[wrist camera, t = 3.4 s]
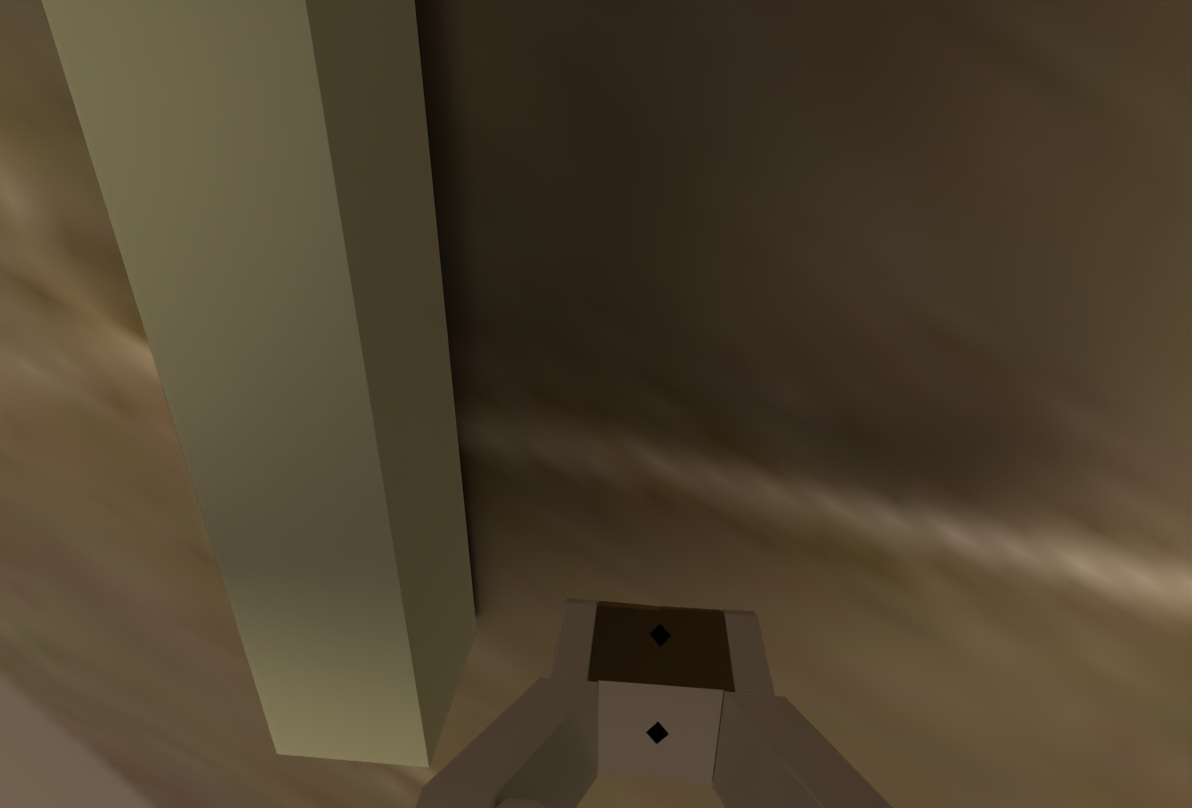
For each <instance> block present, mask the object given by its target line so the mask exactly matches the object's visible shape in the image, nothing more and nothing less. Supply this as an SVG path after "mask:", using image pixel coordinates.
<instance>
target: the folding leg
mask: <svg viewBox="0 0 1192 808" xmlns="http://www.w3.org/2000/svg"><path fill="white" fill-rule="evenodd" d="M42 3H43V6H44V10H45V13H46V16H47V19H48V22H49V26H50V29H51V32H52V35H53V38H54V42H55V45H56V48H57V51H58V54H59V58H60V61H61V64H62V67H63V70H64V74H65V77H66V80H67V83H68V86H69V90H70V93H71V96H72V99H73V102H74V106H75V109H76V112H77V115H78V118H79V122H80V125H81V128H82V131H83V134H84V138H85V141H86V144H87V147H88V150H89V154H90V157H91V160H92V163H93V166H94V170H95V173H96V176H97V179H98V182H99V186H100V189H101V192H102V195H103V198H104V202H105V205H106V208H107V211H108V214H109V218H110V221H111V224H112V227H113V230H114V234H115V237H116V240H117V243H118V246H119V249H120V253H121V256H122V259H123V262H124V265H125V269H126V272H127V275H128V278H129V281H130V285H131V288H132V291H133V294H134V297H135V301H136V304H137V307H138V310H139V313H140V317H141V320H142V323H143V326H144V329H145V333H146V336H147V339H148V342H149V345H150V349H151V352H152V355H153V358H154V361H155V365H156V368H157V371H158V374H159V377H160V381H161V384H162V387H163V390H164V393H165V397H166V400H167V403H168V406H169V409H170V413H171V416H172V419H173V422H174V425H175V429H176V432H177V435H178V438H179V441H180V445H181V448H182V451H183V454H184V457H185V461H186V464H187V467H188V470H189V473H190V477H191V480H192V483H193V486H194V489H195V493H196V496H197V499H198V502H199V505H200V509H201V512H202V515H203V518H204V521H205V525H206V528H207V531H208V534H209V537H210V541H211V544H212V547H213V550H214V553H215V557H216V560H217V563H218V566H219V569H220V573H221V576H222V579H223V582H224V585H225V589H226V592H227V595H228V598H229V601H230V605H231V608H232V611H233V614H234V617H235V621H236V624H237V627H238V630H239V633H240V637H241V640H242V643H243V646H244V649H245V653H246V656H247V659H248V662H249V665H250V669H251V672H252V675H253V678H254V681H255V685H256V688H257V691H258V694H259V697H260V701H261V704H262V707H263V710H264V713H265V717H266V720H267V723H268V726H269V729H270V733H271V736H272V739H273V742H274V745H275V749H276V752H277V754H285V755H296V756H307V757H318V758H329V759H340V760H352V761H363V762H374V763H385V764H396V765H407V766H418V767H429V766H430V763H431V761H432V758H433V755H434V752H435V749H436V746H437V743H438V741H439V738H440V735H441V732H442V729H443V726H444V723H445V721H446V718H447V715H448V712H449V709H450V706H451V703H452V701H453V698H454V695H455V692H456V689H457V686H458V683H459V681H460V678H461V675H462V672H463V669H464V666H465V663H466V661H467V658H468V655H469V652H470V649H471V646H472V643H473V641H474V638H475V635H476V632H477V629H476V619H475V609H474V599H473V588H472V578H471V568H470V558H469V548H468V538H467V528H466V517H465V507H464V497H463V487H462V477H461V467H460V457H459V446H458V436H457V426H456V416H455V406H454V396H453V385H452V375H451V365H450V355H449V345H448V335H447V325H446V314H445V304H444V294H443V284H442V274H441V264H440V254H439V243H438V233H437V223H436V213H435V203H434V193H433V182H432V172H431V162H430V152H429V142H428V132H427V122H426V111H425V101H424V91H423V81H422V71H421V61H420V50H419V40H418V30H417V20H416V10H415V0H42Z"/></svg>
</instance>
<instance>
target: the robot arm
mask: <svg viewBox="0 0 1192 808" xmlns="http://www.w3.org/2000/svg"><path fill="white" fill-rule="evenodd" d="M597 773H601V774H618V775H635V776H652V777H654V774H655V777H661V778H669V779H678V780H686V781H695V782H703V783H712V784H713V788H714V790H715V792H716V793H717V795H718V796H719V798H720V800H721V801H722V803H723V805H724V806H725V808H893V807H892V806H891V805H890V804H889V803H888V802H887V801H886V800H885V799H884V798H883V797H882V796H881V795H880V794H879V793H878V792H877V791H876V790H875V789H874V788H873V787H872V786H871V785H870V784H869V783H868V782H867V781H866V780H865V779H864V778H863V776H862V775H861V774H860V773H859V772H858V771H857V770H856V769H855V768H854V767H853V766H852V765H851V764H850V763H849V762H848V761H847V760H846V759H845V758H844V757H843V756H842V755H841V754H840V753H839V752H838V751H837V750H836V749H835V748H834V747H833V746H832V745H831V743H830V742H829V741H828V740H827V739H826V738H825V737H824V736H823V735H822V734H821V733H820V732H819V731H818V730H817V729H816V728H815V727H814V726H813V725H812V724H811V723H810V722H809V721H808V720H807V719H806V718H805V717H804V716H803V715H802V714H801V713H800V712H799V710H798V709H797V708H796V707H795V706H794V705H793V704H792V703H791V702H790V701H789V700H788V699H787V698H786V697H783V696H775V694H774V689H773V684H772V680H771V675H770V671H769V666H768V662H767V657H766V652H765V648H764V643H763V639H762V634H761V630H760V625H759V620H758V616H757V614H756V613H755V612H754V611H747V610H727V609H722V611H721V610H717V609H700V608H684V607H667V606H653V605H642V604H632V603H621V602H610V601H592V600H581V599H571V598H567V600H566V602H565V604H564V608H563V613H562V618H561V623H560V628H559V633H558V638H557V644H556V649H555V654H554V659H553V664H552V669H551V674H550V678H539V679H538V680H537V681H536V682H535V683H534V684H533V685H532V686H531V687H530V688H529V689H527V690H526V691H525V692H524V693H523V694H522V695H521V696H520V697H519V698H518V699H517V700H516V701H515V702H514V703H513V704H511V705H510V706H509V707H508V708H507V709H506V710H505V711H504V712H503V713H502V714H501V715H500V716H499V717H498V718H496V719H495V720H494V721H493V722H492V723H491V724H490V725H489V726H488V727H487V728H486V729H485V730H484V731H483V732H481V733H480V734H479V735H478V736H477V737H476V738H475V739H474V740H473V741H472V742H471V743H470V744H469V745H468V746H466V747H465V748H464V749H463V750H462V751H461V752H460V753H459V754H458V755H457V756H456V757H455V758H454V759H453V760H452V761H450V762H449V763H448V764H447V765H446V766H445V767H444V768H443V769H442V770H441V771H440V772H439V773H438V774H437V775H435V776H434V777H433V778H432V779H431V780H430V781H429V782H428V783H427V784H426V785H425V786H424V787H423V789H422V792H421V795H420V797H419V800H418V803H417V806H416V808H576V807H577V805H578V804H579V802H580V801H581V800H582V798H583V797H584V795H585V794H586V792H587V791H588V789H589V788H590V787H591V785H592V784H593V782H594V781H595V779H596V778H597Z"/></svg>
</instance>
